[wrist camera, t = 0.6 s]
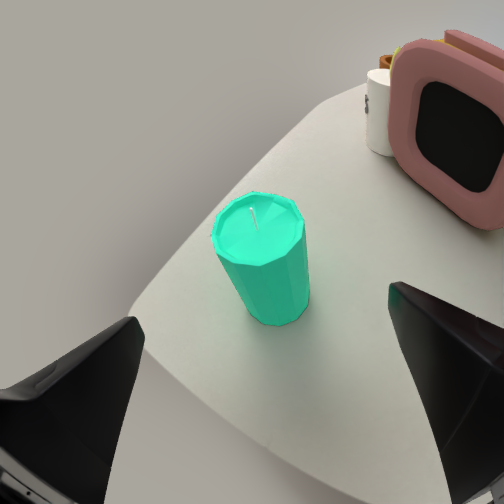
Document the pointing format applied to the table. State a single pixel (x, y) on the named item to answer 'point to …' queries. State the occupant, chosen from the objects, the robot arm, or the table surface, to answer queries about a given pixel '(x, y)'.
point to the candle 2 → (378, 109)
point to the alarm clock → (452, 123)
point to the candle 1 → (265, 255)
